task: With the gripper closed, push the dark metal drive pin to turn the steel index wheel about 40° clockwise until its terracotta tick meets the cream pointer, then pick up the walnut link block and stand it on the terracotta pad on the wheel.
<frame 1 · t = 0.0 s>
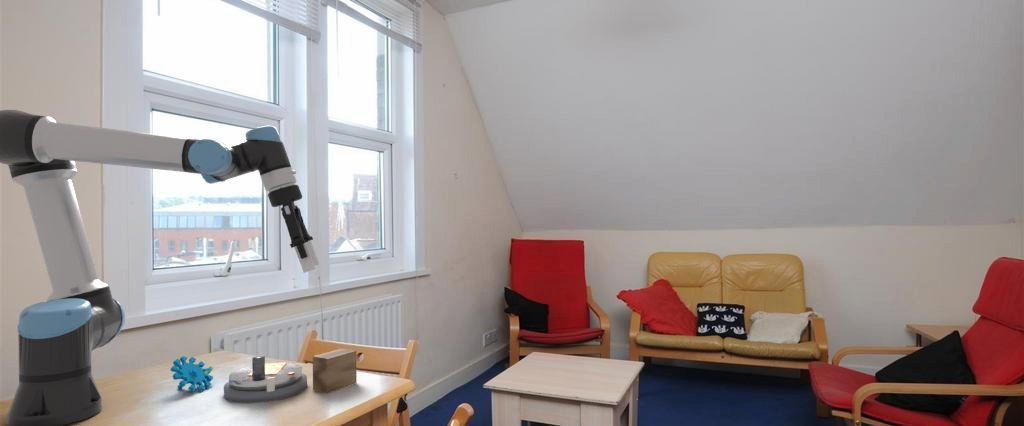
hand: (312, 268, 142), 28 cm above the table, tool tilted 20°, fingers open, 13 cm apart
wheel base: (266, 389, 133), on the table
link block: (335, 386, 136), on the table
index wheel: (266, 365, 133), point 6 cm above the table, hinge at 0.0°
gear: (193, 389, 134), on the table
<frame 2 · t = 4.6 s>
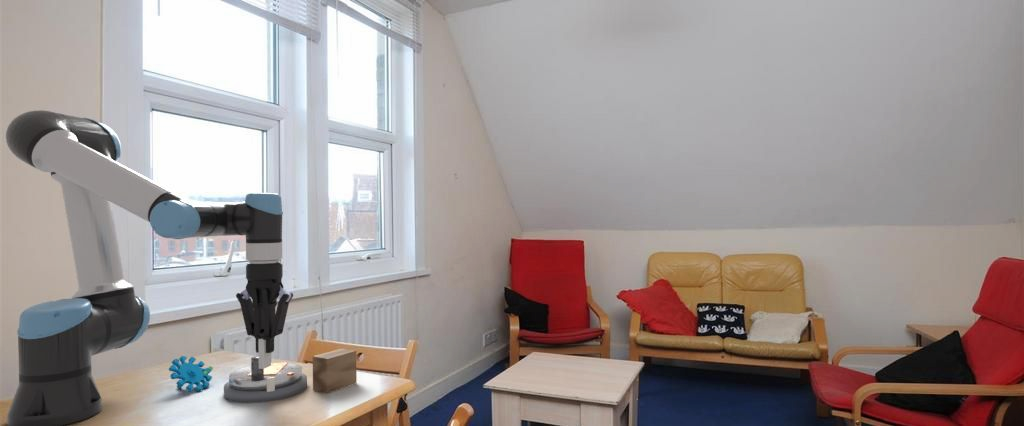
hand: (265, 367, 126), 7 cm above the table, tool pointing down, fingers closed
index wheel: (266, 365, 133), point 6 cm above the table, hinge at -2.1°, touching gripper
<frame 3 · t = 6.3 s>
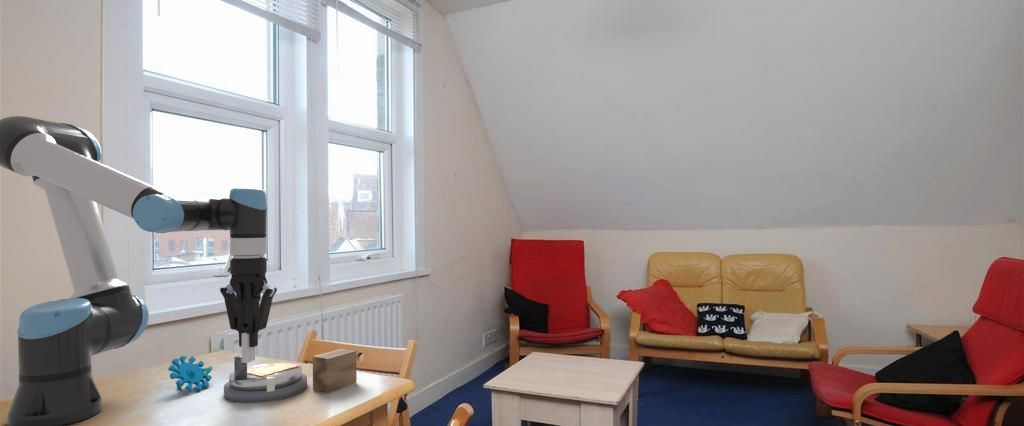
hand: (248, 361, 127), 8 cm above the table, tool pointing down, fingers closed
index wheel: (266, 365, 133), point 6 cm above the table, hinge at -40.7°, touching gripper
everything else where it was.
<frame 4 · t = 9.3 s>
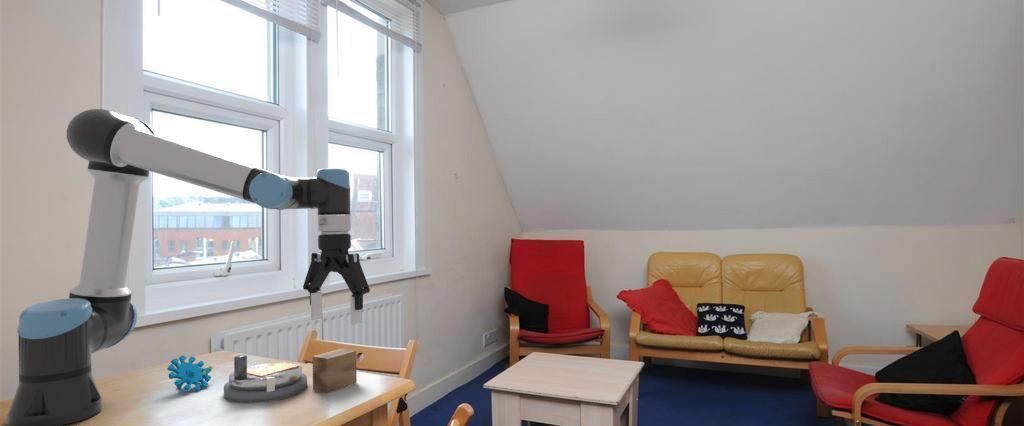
hand: (335, 321, 136), 16 cm above the table, tool pointing down, fingers open, 13 cm apart
index wheel: (266, 365, 133), point 6 cm above the table, hinge at -41.2°
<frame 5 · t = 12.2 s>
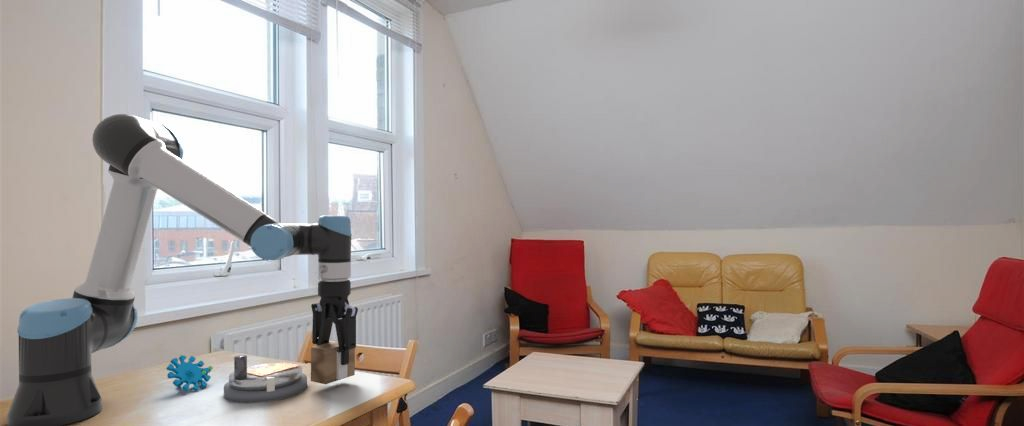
hand: (333, 376, 136), 2 cm above the table, tool pointing down, fingers closed on link block, 5 cm apart
link block: (333, 378, 136), point 2 cm above the table, touching gripper
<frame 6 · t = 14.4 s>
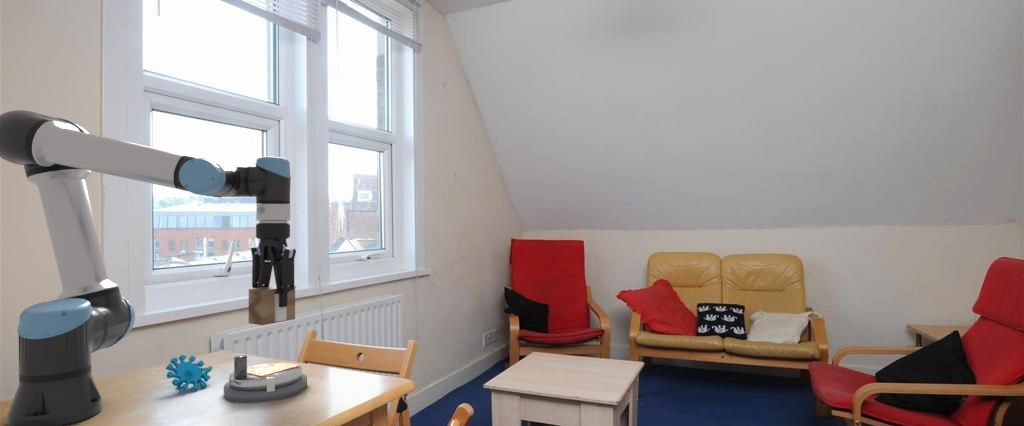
hand: (272, 319, 135), 16 cm above the table, tool pointing down, fingers closed on link block, 5 cm apart
link block: (272, 321, 134), point 16 cm above the table, touching gripper
when the fingers open (6 cm above the table, at t = 16.7 s): link block stays where it is, resting on index wheel.
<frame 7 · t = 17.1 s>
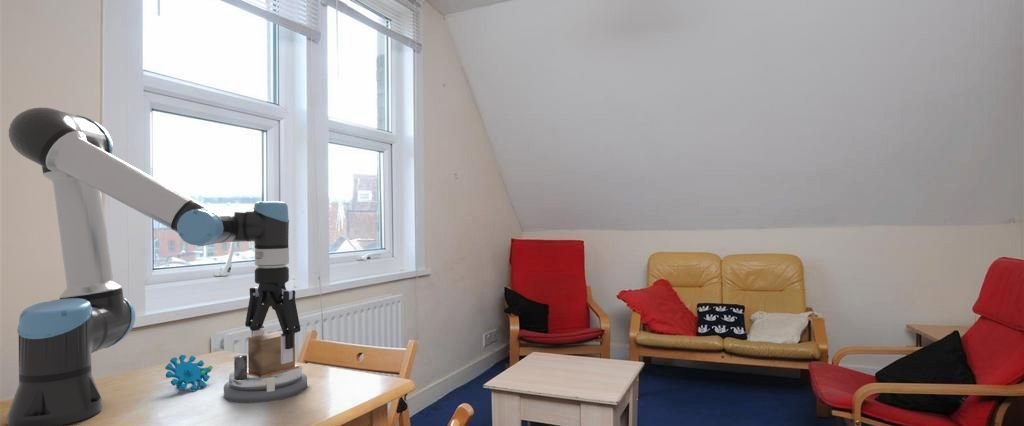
hand: (272, 359, 135), 7 cm above the table, tool pointing down, fingers open, 10 cm apart
link block: (272, 368, 134), point 5 cm above the table, touching index wheel
index wheel: (266, 365, 133), point 6 cm above the table, hinge at -41.2°, touching link block
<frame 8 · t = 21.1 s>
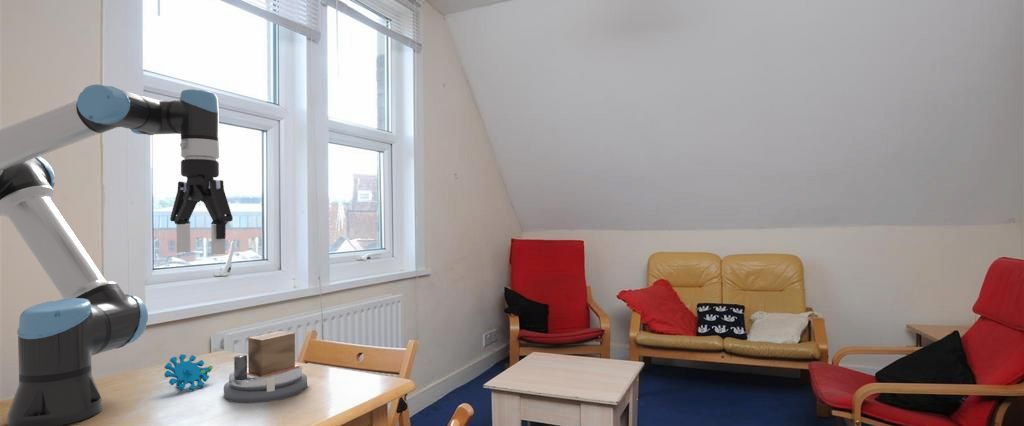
hand: (200, 253, 128), 33 cm above the table, tool pointing down, fingers open, 13 cm apart
at the end: index wheel at -41° (first picture: +0°); link block 0.1 cm from the target spot, point 4.6 cm above the table; link block tilted 0° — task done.
